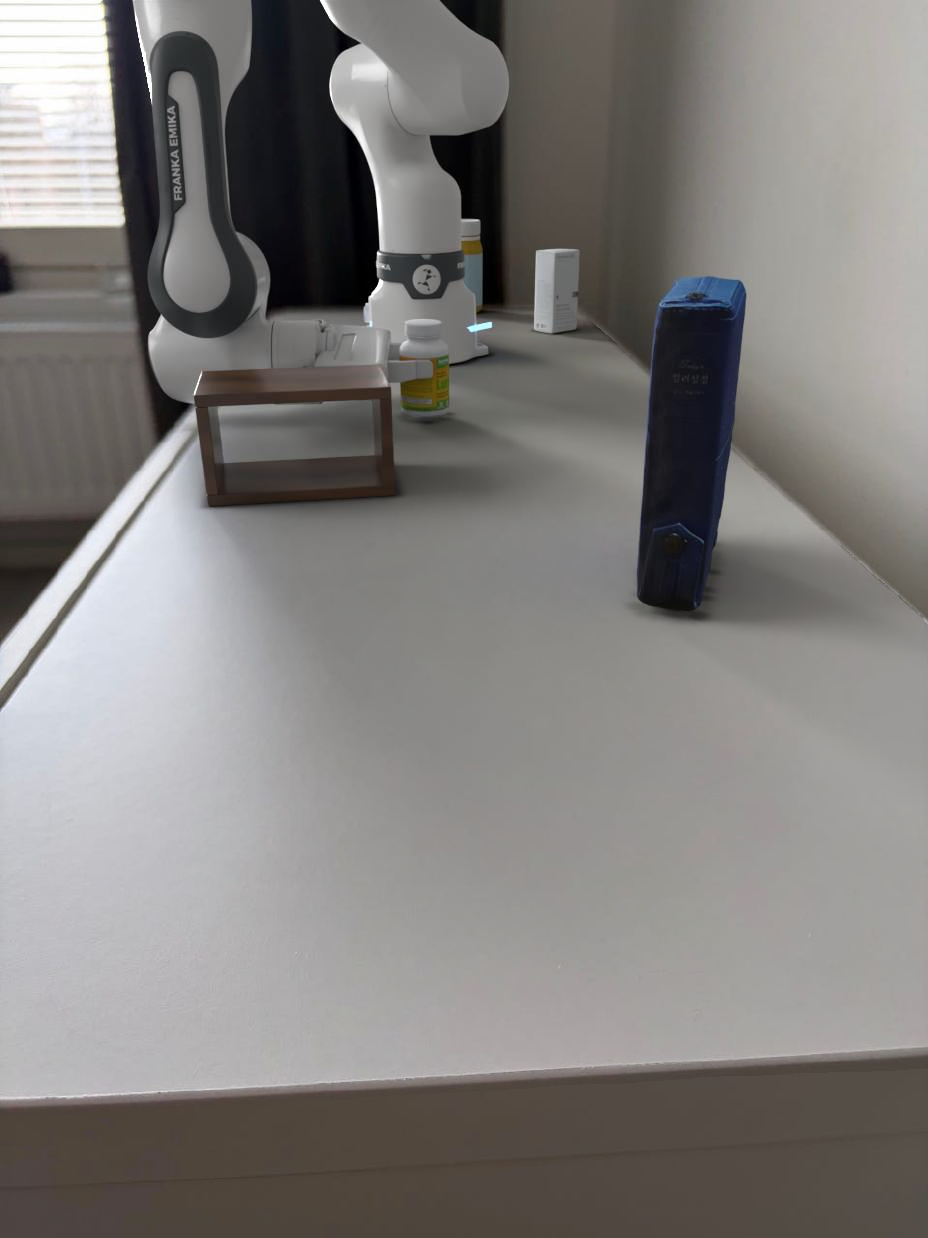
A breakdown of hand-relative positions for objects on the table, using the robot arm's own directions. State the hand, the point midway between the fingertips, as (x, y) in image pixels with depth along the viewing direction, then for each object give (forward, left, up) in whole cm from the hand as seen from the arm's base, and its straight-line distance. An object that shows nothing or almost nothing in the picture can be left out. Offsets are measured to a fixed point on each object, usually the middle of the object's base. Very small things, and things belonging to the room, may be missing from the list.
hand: (432, 361), depth 105 cm
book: (+46, +11, -6) cm, 48 cm away
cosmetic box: (-49, +27, -6) cm, 56 cm away
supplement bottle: (0, -1, -6) cm, 6 cm away
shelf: (+21, -15, -6) cm, 27 cm away
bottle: (-69, +15, -6) cm, 71 cm away
